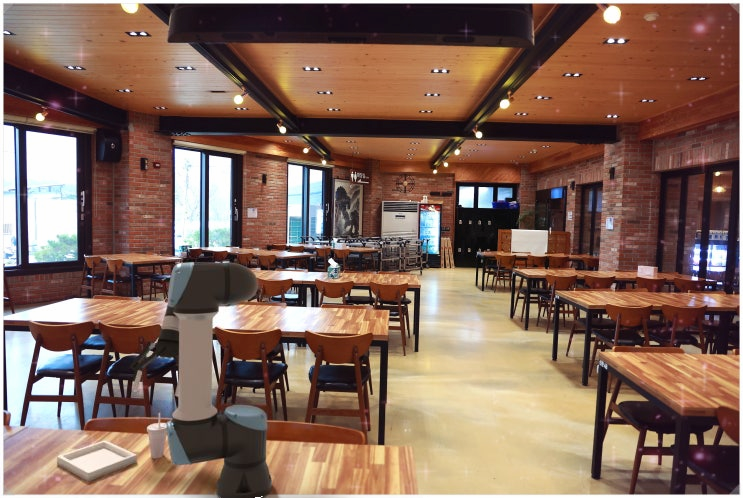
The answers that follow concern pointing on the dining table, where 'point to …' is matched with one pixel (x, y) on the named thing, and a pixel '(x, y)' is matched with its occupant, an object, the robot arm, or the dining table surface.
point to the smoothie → (157, 438)
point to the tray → (96, 460)
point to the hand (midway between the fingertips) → (155, 393)
